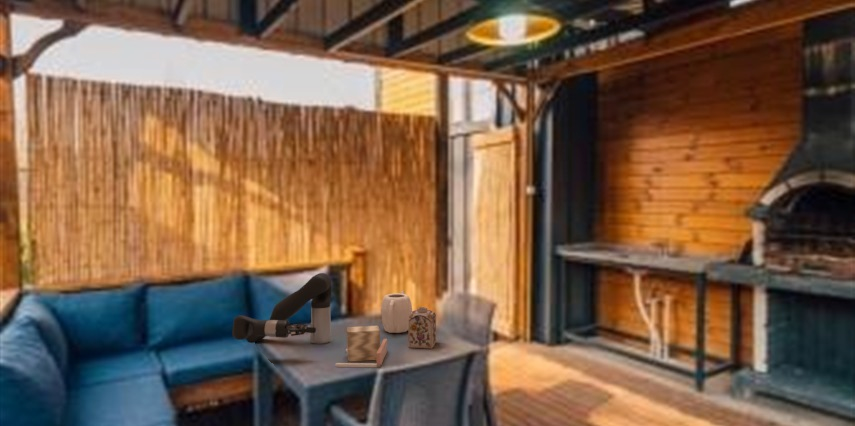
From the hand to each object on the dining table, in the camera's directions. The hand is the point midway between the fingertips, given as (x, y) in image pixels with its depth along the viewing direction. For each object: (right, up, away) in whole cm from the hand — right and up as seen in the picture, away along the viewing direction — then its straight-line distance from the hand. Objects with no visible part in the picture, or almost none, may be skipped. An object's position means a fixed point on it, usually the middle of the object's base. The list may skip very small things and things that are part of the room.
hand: (315, 330), depth 270 cm
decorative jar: (+47, -12, +22) cm, 53 cm away
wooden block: (+21, -13, +3) cm, 25 cm away
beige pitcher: (+34, -10, +50) cm, 61 cm away
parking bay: (+20, -13, +1) cm, 24 cm away
